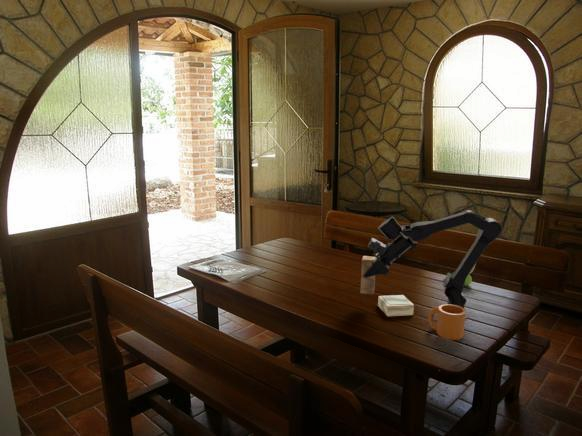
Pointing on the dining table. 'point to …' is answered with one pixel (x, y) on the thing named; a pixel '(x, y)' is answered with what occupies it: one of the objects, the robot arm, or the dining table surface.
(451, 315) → the mug
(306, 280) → the dining table surface
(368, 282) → the tan wooden block
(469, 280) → the snail figurine
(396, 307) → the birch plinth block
